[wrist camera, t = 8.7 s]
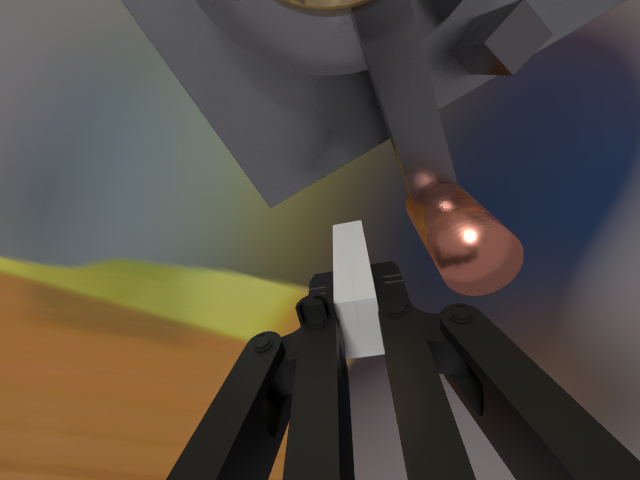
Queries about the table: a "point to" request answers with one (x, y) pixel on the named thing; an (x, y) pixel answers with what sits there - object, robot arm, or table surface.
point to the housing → (331, 72)
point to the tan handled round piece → (424, 148)
